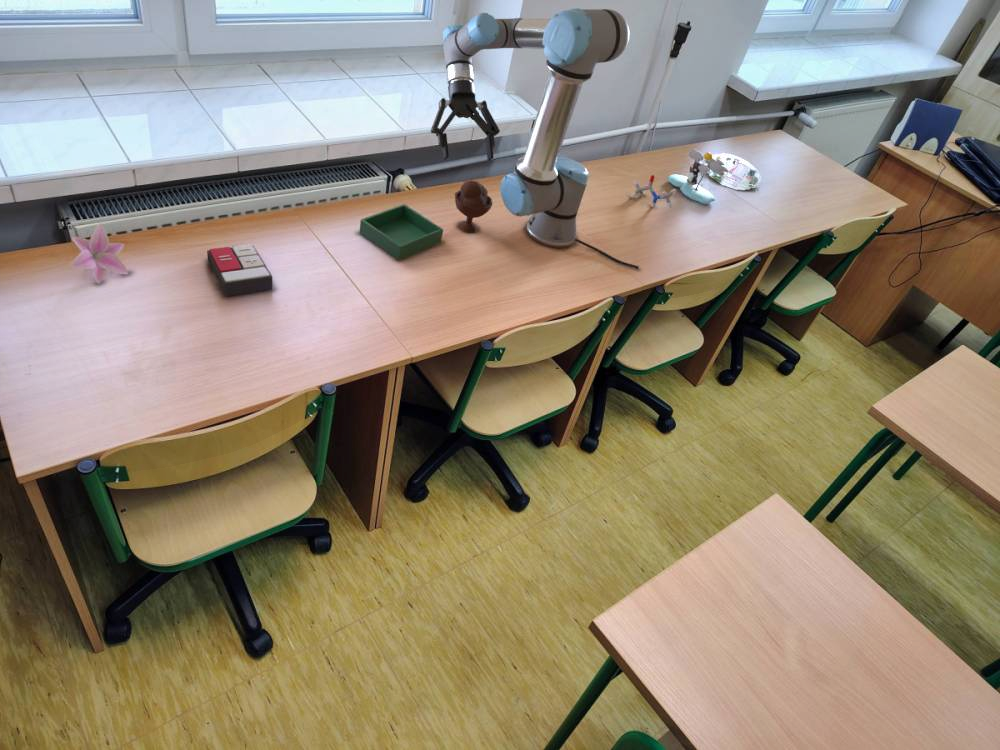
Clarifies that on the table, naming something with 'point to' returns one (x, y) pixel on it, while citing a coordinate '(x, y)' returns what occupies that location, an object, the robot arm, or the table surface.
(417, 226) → the bin
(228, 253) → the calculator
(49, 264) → the table surface
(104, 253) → the lily
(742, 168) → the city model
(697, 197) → the figurine on stand
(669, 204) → the molecular model
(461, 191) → the ice cream bowl
